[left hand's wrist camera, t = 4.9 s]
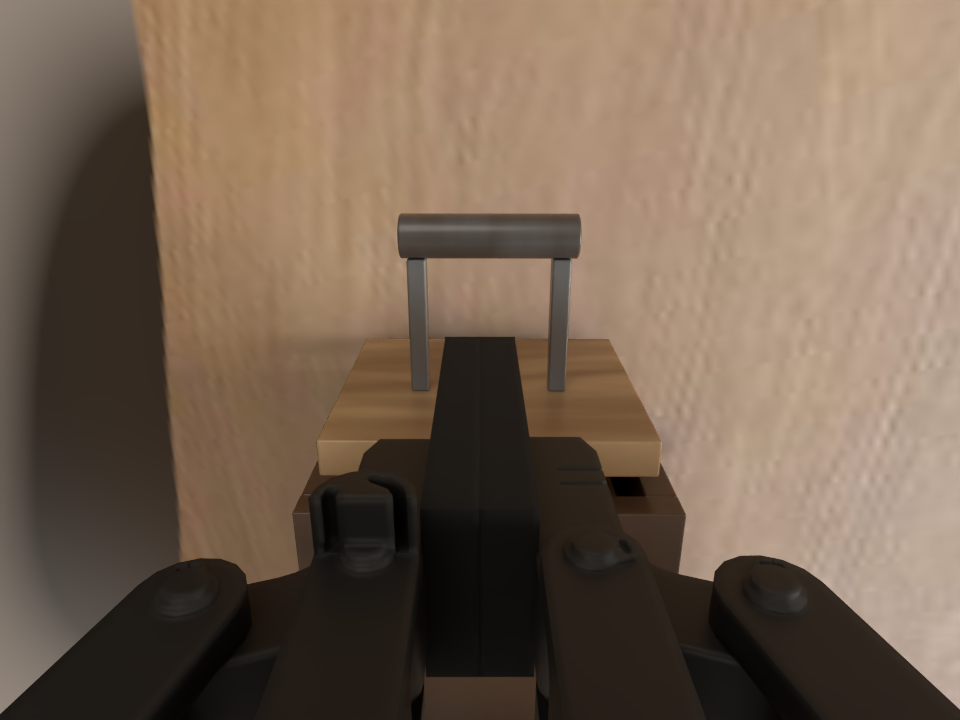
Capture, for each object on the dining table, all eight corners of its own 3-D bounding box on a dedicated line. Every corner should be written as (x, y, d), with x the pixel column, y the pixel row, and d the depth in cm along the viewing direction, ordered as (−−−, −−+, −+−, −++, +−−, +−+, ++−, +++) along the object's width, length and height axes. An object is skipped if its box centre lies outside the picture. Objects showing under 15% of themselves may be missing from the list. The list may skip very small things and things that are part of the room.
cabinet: (359, 369, 29) (291, 513, 19) (616, 370, 29) (686, 514, 19) (379, 655, 35) (335, 881, 25) (593, 656, 35) (638, 884, 25)
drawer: (356, 192, 26) (295, 237, 17) (620, 192, 26) (685, 237, 17) (385, 622, 33) (351, 798, 25) (588, 623, 33) (623, 800, 25)
